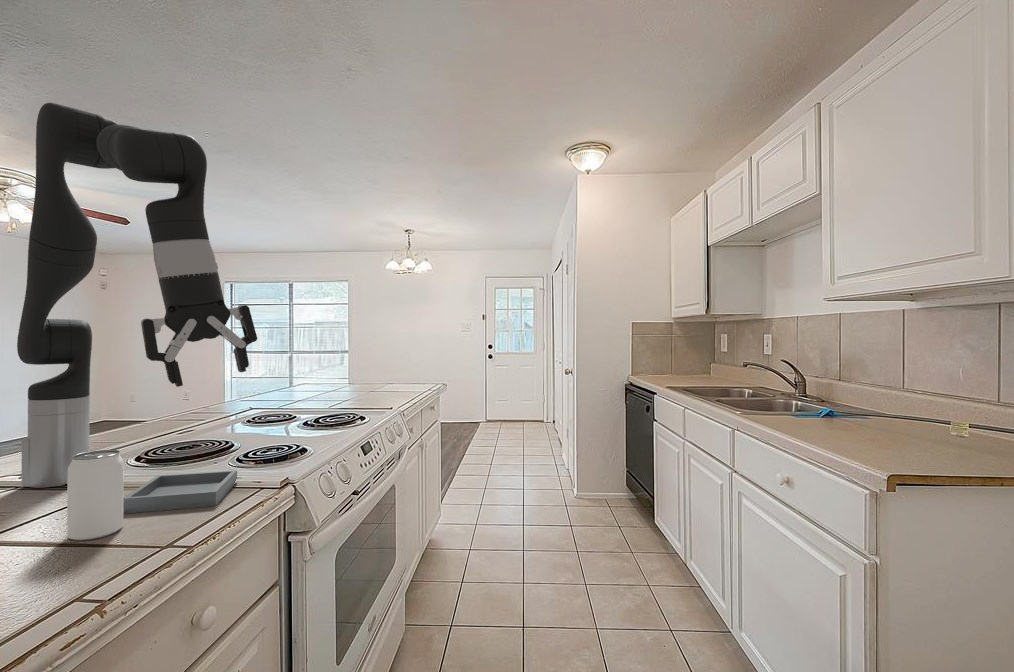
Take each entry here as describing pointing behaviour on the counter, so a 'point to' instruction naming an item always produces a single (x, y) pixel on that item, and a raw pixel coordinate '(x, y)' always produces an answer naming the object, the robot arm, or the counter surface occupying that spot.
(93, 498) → the can
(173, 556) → the counter surface
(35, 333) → the robot arm
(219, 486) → the bin
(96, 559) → the counter surface
